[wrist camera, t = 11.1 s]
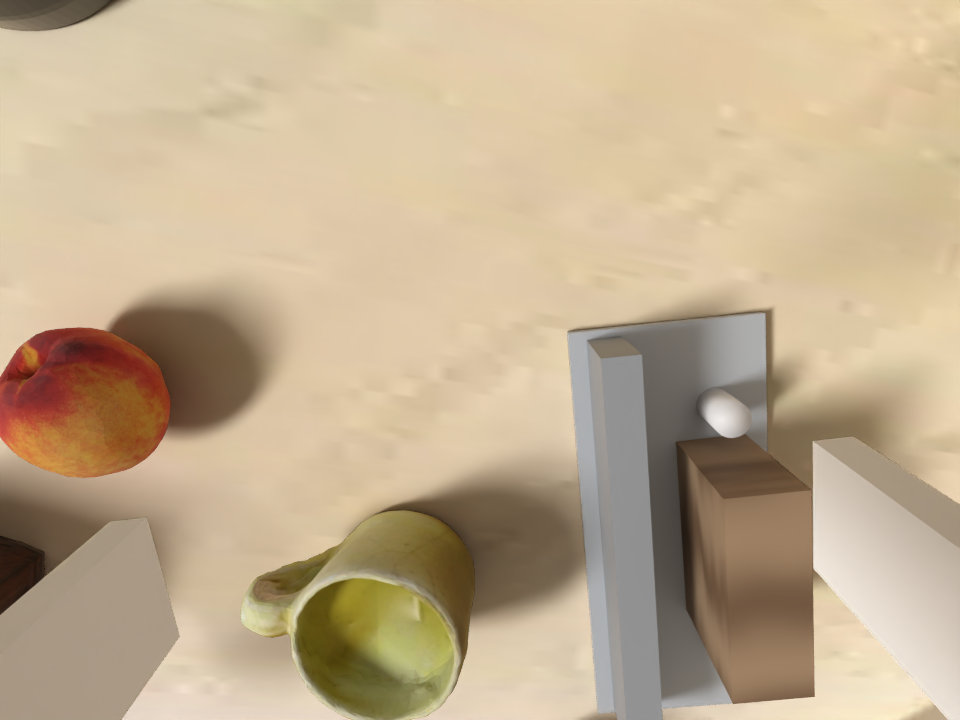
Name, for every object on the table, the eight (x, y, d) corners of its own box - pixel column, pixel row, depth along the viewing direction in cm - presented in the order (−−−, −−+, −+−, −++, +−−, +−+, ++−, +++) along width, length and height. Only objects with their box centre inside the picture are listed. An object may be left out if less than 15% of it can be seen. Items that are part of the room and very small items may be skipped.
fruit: (180, 310, 37) (97, 334, 30) (207, 443, 39) (135, 498, 31) (49, 324, 38) (-68, 351, 30) (80, 454, 39) (-22, 512, 32)
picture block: (675, 441, 38) (723, 499, 30) (748, 433, 38) (816, 489, 30) (686, 609, 40) (733, 703, 32) (755, 602, 40) (819, 696, 32)
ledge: (566, 331, 37) (579, 350, 32) (761, 311, 37) (808, 327, 31) (597, 706, 42) (612, 778, 37) (767, 693, 42) (808, 764, 36)
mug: (526, 527, 38) (470, 666, 29) (471, 632, 43) (410, 777, 34) (343, 434, 39) (239, 541, 31) (312, 547, 44) (215, 665, 36)
